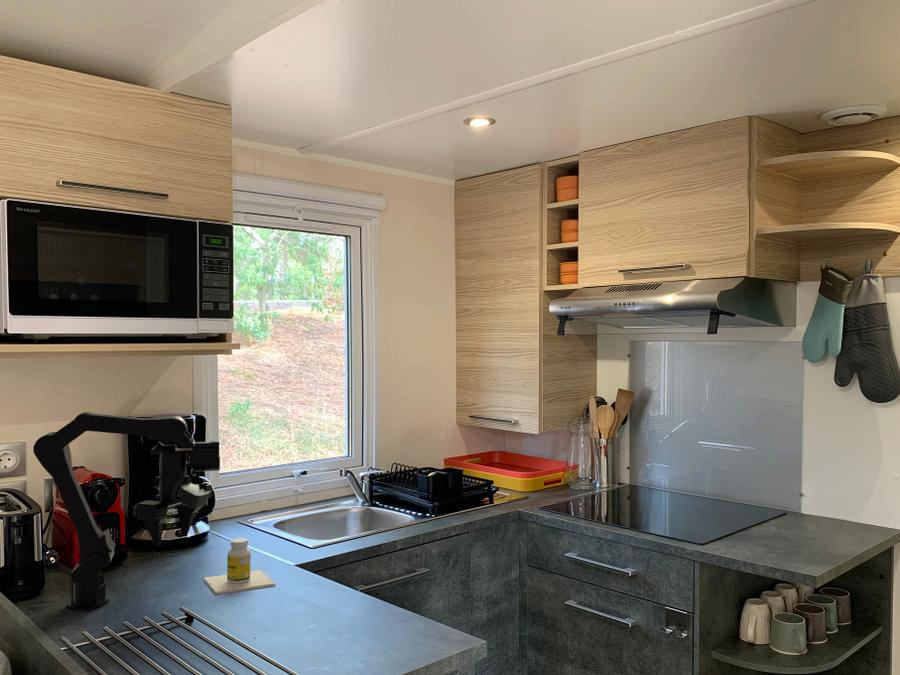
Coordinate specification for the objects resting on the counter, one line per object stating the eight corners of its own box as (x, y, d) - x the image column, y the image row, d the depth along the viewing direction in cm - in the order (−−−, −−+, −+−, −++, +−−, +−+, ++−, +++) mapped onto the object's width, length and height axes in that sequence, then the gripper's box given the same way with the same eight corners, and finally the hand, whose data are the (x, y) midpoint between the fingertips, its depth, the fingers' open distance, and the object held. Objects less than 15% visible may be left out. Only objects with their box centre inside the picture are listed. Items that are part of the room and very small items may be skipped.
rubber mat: (215, 594, 175) (215, 592, 175) (204, 580, 186) (204, 577, 186) (275, 585, 182) (275, 583, 182) (260, 572, 193) (260, 569, 193)
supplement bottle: (222, 579, 184) (223, 539, 184) (243, 575, 188) (244, 535, 188) (233, 585, 180) (234, 544, 180) (254, 581, 184) (255, 540, 184)
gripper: (175, 481, 161) (174, 555, 161) (227, 468, 179) (226, 534, 179) (132, 477, 165) (131, 550, 165) (188, 465, 182) (186, 530, 182)
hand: (171, 540), depth 173 cm, fingers open, 9 cm apart
